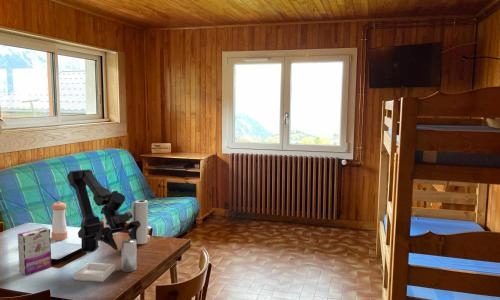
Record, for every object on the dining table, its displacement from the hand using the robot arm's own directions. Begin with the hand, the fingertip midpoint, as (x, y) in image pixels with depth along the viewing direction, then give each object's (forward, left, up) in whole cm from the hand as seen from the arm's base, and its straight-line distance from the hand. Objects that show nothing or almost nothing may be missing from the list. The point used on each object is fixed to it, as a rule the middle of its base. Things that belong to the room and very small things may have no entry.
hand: (126, 247), depth 167 cm
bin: (-10, -9, -9) cm, 16 cm away
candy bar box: (-36, -8, -9) cm, 38 cm away
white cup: (-26, +42, -9) cm, 50 cm away
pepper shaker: (-48, +30, -9) cm, 57 cm away
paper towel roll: (-6, +31, -9) cm, 33 cm away
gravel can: (+1, -1, -9) cm, 9 cm away
